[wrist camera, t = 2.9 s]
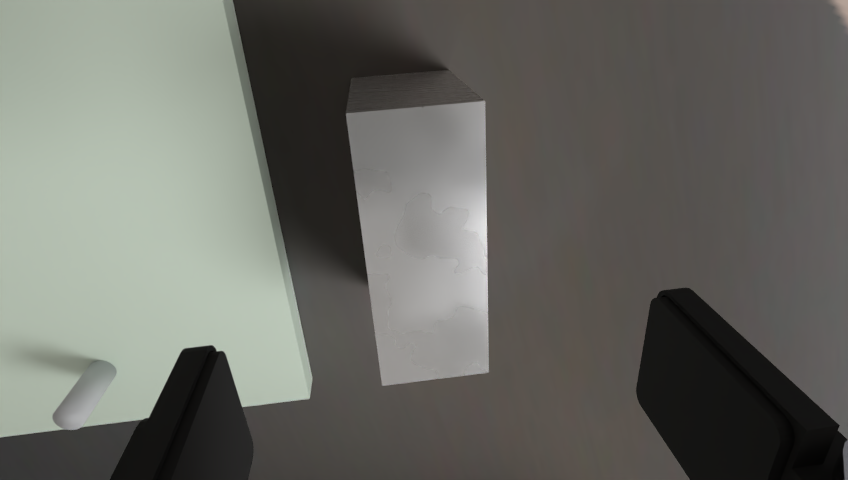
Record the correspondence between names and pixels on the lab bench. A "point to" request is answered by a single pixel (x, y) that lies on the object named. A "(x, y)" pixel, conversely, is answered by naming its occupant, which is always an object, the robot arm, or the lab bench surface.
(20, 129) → the pin plate
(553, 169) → the lab bench surface
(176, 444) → the robot arm
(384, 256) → the block
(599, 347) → the lab bench surface
